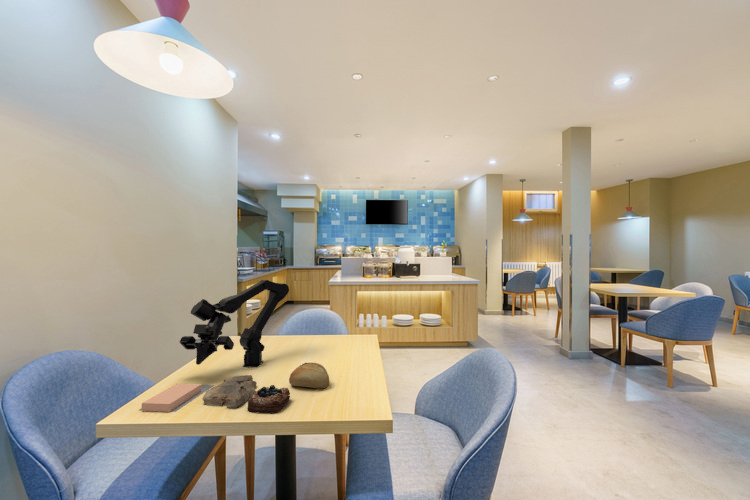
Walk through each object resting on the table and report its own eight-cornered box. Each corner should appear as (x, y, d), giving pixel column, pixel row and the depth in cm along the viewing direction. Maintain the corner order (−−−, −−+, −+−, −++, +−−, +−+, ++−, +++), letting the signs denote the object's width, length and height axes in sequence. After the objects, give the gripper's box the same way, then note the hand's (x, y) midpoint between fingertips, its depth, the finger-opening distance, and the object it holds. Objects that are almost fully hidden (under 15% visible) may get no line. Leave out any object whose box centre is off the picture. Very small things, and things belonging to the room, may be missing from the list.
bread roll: (294, 380, 121) (294, 359, 121) (332, 381, 119) (332, 360, 120) (284, 390, 111) (284, 367, 112) (326, 392, 110) (326, 369, 110)
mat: (183, 385, 116) (183, 384, 116) (214, 386, 115) (214, 385, 115) (138, 411, 96) (138, 410, 96) (175, 413, 95) (175, 411, 95)
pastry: (279, 415, 94) (279, 395, 94) (241, 413, 96) (241, 393, 96) (293, 399, 105) (293, 381, 105) (259, 397, 107) (259, 379, 107)
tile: (176, 383, 111) (141, 403, 96) (201, 384, 110) (169, 404, 95) (176, 390, 111) (141, 411, 96) (201, 391, 110) (169, 412, 95)
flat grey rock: (231, 383, 119) (195, 407, 99) (232, 370, 119) (196, 391, 99) (267, 385, 117) (238, 410, 98) (267, 372, 118) (238, 394, 98)
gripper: (182, 315, 121) (161, 353, 109) (229, 314, 119) (213, 353, 108) (195, 330, 128) (177, 367, 117) (240, 330, 127) (225, 368, 116)
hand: (197, 364), depth 114 cm, fingers closed
